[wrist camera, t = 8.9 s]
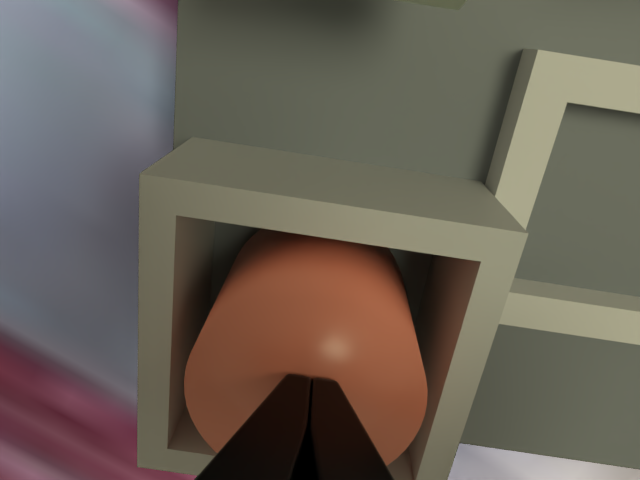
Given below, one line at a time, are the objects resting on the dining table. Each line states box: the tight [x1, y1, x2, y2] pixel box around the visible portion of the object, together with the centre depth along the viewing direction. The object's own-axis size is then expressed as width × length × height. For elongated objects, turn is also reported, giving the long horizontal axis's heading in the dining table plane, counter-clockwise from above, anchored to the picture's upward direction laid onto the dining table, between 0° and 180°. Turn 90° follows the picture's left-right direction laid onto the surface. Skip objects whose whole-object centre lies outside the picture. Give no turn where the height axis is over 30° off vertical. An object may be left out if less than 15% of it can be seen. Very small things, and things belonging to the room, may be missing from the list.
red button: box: [184, 228, 428, 466], centre depth 10 cm, size 4×4×4 cm
